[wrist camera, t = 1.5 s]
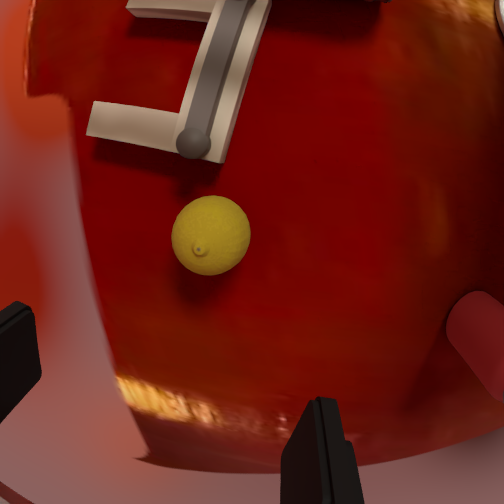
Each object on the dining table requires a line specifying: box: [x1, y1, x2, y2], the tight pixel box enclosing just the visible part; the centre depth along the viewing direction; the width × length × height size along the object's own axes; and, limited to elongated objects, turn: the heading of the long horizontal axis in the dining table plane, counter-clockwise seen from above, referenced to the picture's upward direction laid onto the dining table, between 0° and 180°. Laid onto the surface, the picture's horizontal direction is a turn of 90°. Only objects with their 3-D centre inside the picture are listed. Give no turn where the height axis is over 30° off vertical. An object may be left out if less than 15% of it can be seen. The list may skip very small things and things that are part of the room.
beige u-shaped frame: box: [86, 0, 272, 163], centre depth 21 cm, size 15×12×4 cm
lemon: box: [172, 196, 250, 275], centre depth 23 cm, size 6×6×8 cm
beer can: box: [446, 291, 504, 403], centre depth 22 cm, size 7×7×12 cm
